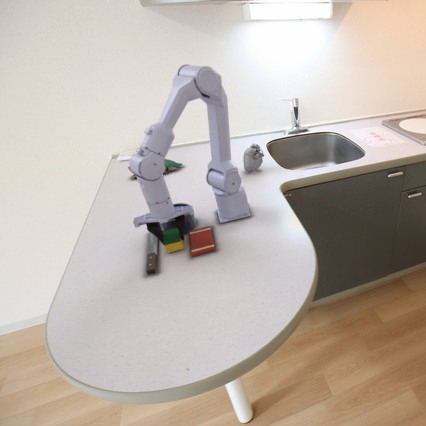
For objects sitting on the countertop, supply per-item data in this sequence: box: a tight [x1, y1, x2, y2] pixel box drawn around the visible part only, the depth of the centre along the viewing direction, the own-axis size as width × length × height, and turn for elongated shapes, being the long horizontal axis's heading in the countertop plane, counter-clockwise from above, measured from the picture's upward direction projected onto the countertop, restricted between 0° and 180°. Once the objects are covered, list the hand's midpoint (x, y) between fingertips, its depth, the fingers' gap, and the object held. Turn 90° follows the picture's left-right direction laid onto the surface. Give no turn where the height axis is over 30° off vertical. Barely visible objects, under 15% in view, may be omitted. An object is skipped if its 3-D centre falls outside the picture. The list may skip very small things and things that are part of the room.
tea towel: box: [189, 225, 216, 258], centre depth 89 cm, size 6×12×1 cm, turn 23°
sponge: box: [163, 228, 184, 254], centre depth 86 cm, size 4×6×3 cm
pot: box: [159, 202, 197, 235], centre depth 94 cm, size 10×10×6 cm
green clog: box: [131, 158, 184, 180], centre depth 130 cm, size 9×20×5 cm, turn 114°
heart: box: [242, 143, 265, 174], centre depth 126 cm, size 10×10×12 cm
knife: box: [145, 232, 159, 276], centre depth 85 cm, size 2×20×2 cm, turn 23°
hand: (173, 240), depth 87 cm, fingers closed on sponge, 4 cm apart
